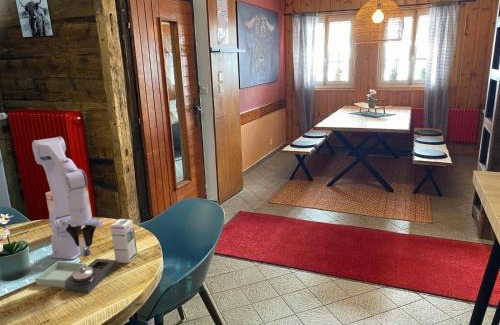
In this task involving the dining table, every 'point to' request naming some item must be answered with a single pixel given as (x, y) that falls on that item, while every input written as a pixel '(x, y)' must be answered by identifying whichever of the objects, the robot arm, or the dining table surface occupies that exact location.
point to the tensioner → (90, 276)
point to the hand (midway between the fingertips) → (84, 245)
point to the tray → (58, 274)
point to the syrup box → (124, 240)
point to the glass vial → (83, 245)
